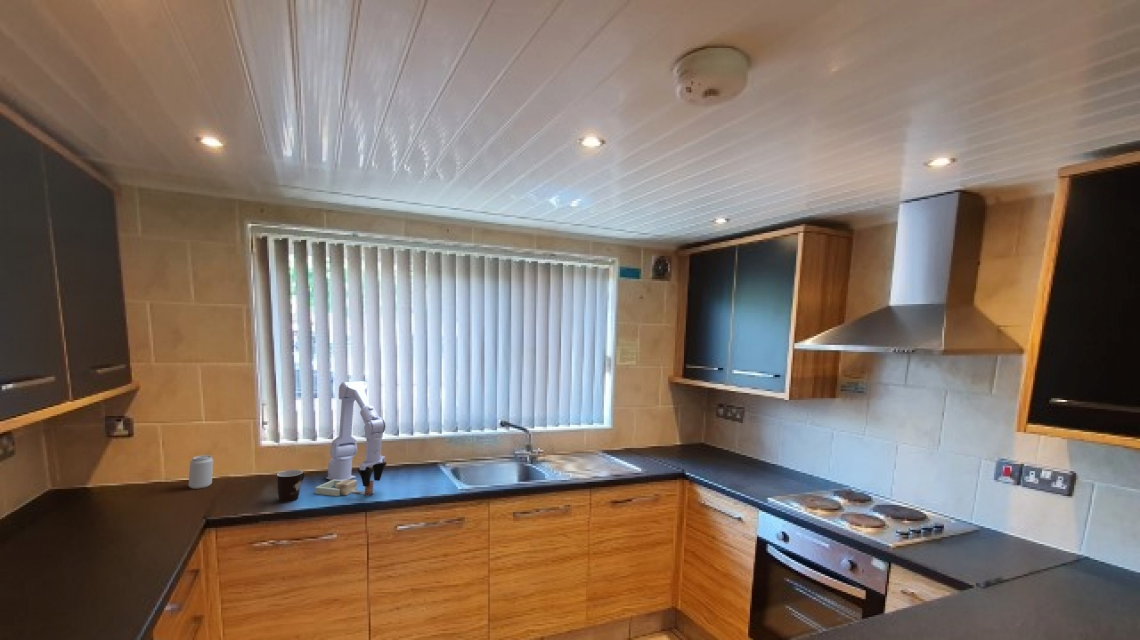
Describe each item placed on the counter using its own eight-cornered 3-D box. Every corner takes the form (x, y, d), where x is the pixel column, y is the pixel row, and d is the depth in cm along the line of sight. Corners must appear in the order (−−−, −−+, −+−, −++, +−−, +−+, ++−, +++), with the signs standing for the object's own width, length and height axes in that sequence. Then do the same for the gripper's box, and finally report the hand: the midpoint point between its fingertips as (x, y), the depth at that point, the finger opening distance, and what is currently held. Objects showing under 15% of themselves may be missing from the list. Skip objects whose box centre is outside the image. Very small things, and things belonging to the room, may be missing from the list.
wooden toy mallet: (335, 494, 186) (335, 481, 186) (345, 488, 192) (345, 476, 193) (367, 497, 184) (368, 484, 184) (376, 491, 190) (377, 479, 191)
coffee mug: (282, 505, 172) (284, 478, 173) (270, 500, 177) (272, 473, 177) (313, 496, 182) (315, 471, 183) (301, 492, 187) (303, 467, 187)
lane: (314, 493, 185) (315, 487, 186) (333, 485, 196) (333, 479, 196) (337, 496, 184) (338, 489, 184) (355, 487, 194) (355, 481, 195)
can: (184, 487, 187) (186, 457, 187) (204, 482, 194) (206, 453, 194) (195, 490, 184) (197, 460, 184) (216, 485, 191) (218, 455, 191)
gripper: (372, 454, 180) (370, 490, 180) (392, 446, 194) (390, 478, 194) (355, 453, 181) (353, 488, 181) (377, 444, 196) (375, 477, 195)
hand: (371, 483), depth 187 cm, fingers open, 7 cm apart
